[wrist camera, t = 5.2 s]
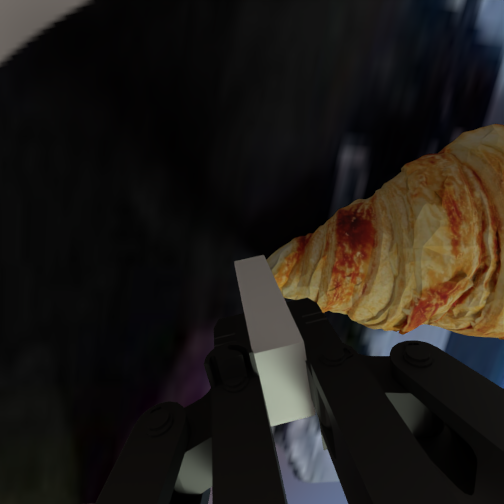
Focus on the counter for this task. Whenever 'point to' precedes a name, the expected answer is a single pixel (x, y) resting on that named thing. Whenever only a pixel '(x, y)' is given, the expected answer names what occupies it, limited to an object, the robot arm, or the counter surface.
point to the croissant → (413, 246)
